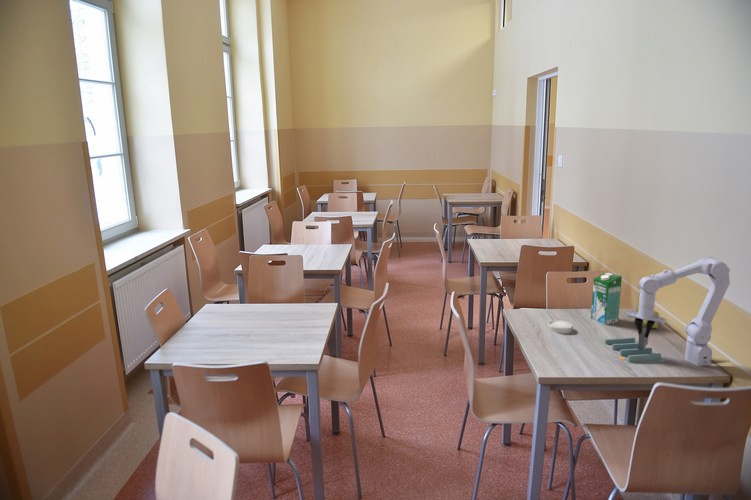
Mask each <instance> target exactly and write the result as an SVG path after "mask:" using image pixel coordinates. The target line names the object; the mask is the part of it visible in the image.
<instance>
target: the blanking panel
mask: <svg viewBox="0 0 751 500" xmlns="http://www.w3.org/2000/svg"><path fill="white" fill-rule="evenodd" d="M646 329H647V327H642V331H641V332H640V333H639V334H638V341H637V342H638V349H639V350H644V348H645V347H646V348H647V345H648V343H649V337H648V338H646Z"/></svg>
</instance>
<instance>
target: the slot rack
mask: <svg viewBox="0 0 751 500" xmlns="http://www.w3.org/2000/svg"><path fill="white" fill-rule="evenodd" d="M638 342H639V341H637V340H636V337H619V338H618V337H617V338H616V337H615V338H605V339H604V344H605V345H611V349H612V351H618V350H619V356H618V359H620V360H621V361H626V363H627V364H651V363H652V364H653V363H654V364H658V363H659V364H662V363H667V359H665V358H664V357H662V354H661V353H660V352H659V353H656V352H654V351H653V347H647V346H646V347H645V348H644V350H639V349H638ZM624 356H625V358H624Z"/></svg>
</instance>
